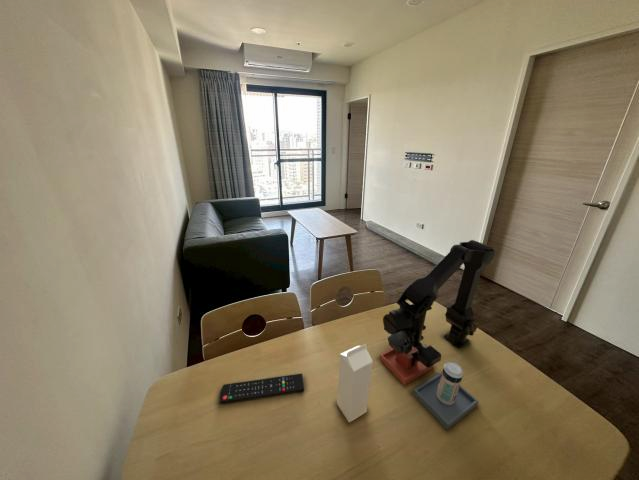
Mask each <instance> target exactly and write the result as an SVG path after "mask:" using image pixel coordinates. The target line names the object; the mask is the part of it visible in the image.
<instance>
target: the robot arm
mask: <svg viewBox="0 0 639 480" xmlns="http://www.w3.org/2000/svg"><path fill="white" fill-rule="evenodd" d="M495 255H496V254H495V249H494V248H493V246H490V245H488V244H485V243H482V242H479V241H477V240H475V239H471V240H469V241H460V242H459V244H453V245H452V246H451V248H450V249H449V252H448V253H447V254H446V255H444V257H443V258H442V259H441V260H440V261H439V262H438V263H437V264H436V265H435V266H434V267H433V268H432V269H431V270H430V271H429V273H428V274H426V275H425V276H424V277H421V278H417V279H415V280H414V281H413V282H412V283H410V284H409V285H407V287H406V288H405V289H404V291H403V292H402V294H401V295H400V297H399V298H398V299H397V301H396V304H397V306H399V308H397V309H393V310H390V311H388V313H386V314H384V315H383V317H382V323H383V330H384V331H385V332H386V333H388V334H389V335H388V336H387V341H388V342H387V343H388V345H389V347H390V348H391V349H392V348H393V349H394V350H395V351H396V352H397V353H404V354H408V353H409V352H410V351H411V350H412V347H413V348H416V349H417V350H416V352H415V353H413V354H411V355H412V356H413V359H412V367H413V366H415V365H416V364H417V362H418V361H420V362H421V363H422V364H423V365H424V366H426V367H431V366H432V365H434V366H435V365H436V364H438V363H439V362H441V360H442V353H441V352H439V350H437V349H436V348H435V347H434V346H432V345H427V344H423V343H422V342H421V341H424V339H425V337H424V336H423V331H425V330H426V329H427V328H426V327H427V326H426V325H425V322H426V316H427V312H428V311H431V310H432V309H433V307H432V306H433V304H434V303H435V302H436V300H437V298H438V295H439V290H440V289H441V287H442V286H443V285H445V283H446V282H447V281H448V280H449V279H450V278H451V277H452V276H453V275H454V274H455V273H457V271H458V270H459V269H460V268H461V266H463V271H462V275H461V279H460V282H459V285H458V290H457V294H456V297H455V302H454V303H453V304H451V305H449V306H448V307H446V312H445V313H444V316H445V321H446V322H447V323H448V324H450V328H449V331H448V333H446V334H445V335H443V338H444V339H445V340H447V341H448V342H449V343H451V344H453V345H454V346H455V347H456V348H458V349H461V348H462V347H464V346H466V345H468V344H470V343H471V341H470V340H469V339H468V338H467V337H468V336H474V333H475V332H476V331H477V329H478V326H477V325H476V324H475V322H474V320H475V313H474V311H473V308H472V305H473V302H474V299H475V295H476V291H477V289H478V284H479V282H480V278H481V275H482V272H483V270H484V269H486V268H487V267H488V266H490V265H491V263H492V261H493V260H494V258H495ZM408 301H409V302H410V303H409V302H408Z"/></svg>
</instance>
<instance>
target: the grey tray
mask: <svg viewBox="0 0 639 480" xmlns="http://www.w3.org/2000/svg"><path fill="white" fill-rule="evenodd" d="M441 375H442V371H441V372H439V373H438V374H436V375H434V376H433V377H431V378H430V379H428V380H427V381H425V382H423V383H422V384H421V385H418V386H417V387H416V388H413V393H412V394H413V396H414V397H415V398H416V399H417V400H418V401H419V402H420V403H421V404H422V405H423V406H424V408H425V409H426V410H427V411H428V412H429V413H430V414H431V415H432V416H433V417H434V418H435V419H436V420H437V421H438V422H439V423H440V424H441V425H442V426H443V428H444V429H446V430H447V431H448V430H449V429H450V428H452V427H453V426H454V425H455V424H457V422H459V421H460V420H461V419H462V418H464V417H465V416H466V415H468V414H469V413H470V412H471V411H473V409H475V408H476V407H477V406H478V404H479V399H477V398H475V396H473V395H472V394H471V393H470V392H469V391H467V389H465V388H464V387H463V386H462V385H460V386H459V390H458V393H457V396H456V399H455V402H454V404H452V405H446V404H444V403H442V402H441V401H440V400H439V399H438V397H437V389H438V386H439V382H440V378H441Z"/></svg>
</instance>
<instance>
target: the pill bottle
mask: <svg viewBox="0 0 639 480" xmlns="http://www.w3.org/2000/svg"><path fill="white" fill-rule="evenodd" d="M441 372H442V375H441V378H440V382H439V386H438V389H437V397H438V399H439V400H440V401H441V402H442V403H444V404H446V405H452V404H454V402H455V399H456V396H457V393H458V390H459V386H461V383H462V380H463V376H464V371H463V368H462V367H461V365H460V364H458V363H456V362H454V361H448V362H446V363H445V364H444V365H443V367H442V371H441Z"/></svg>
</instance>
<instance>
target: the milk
mask: <svg viewBox="0 0 639 480" xmlns="http://www.w3.org/2000/svg"><path fill="white" fill-rule="evenodd" d="M338 363H339V364H338V379H337V393H336V394H337V395H336V405H337V406H338V408H339V409H340V412H341V413H342V414H343V416H344V417H345V419H346V421H347V422H348V423H351V422H353V421H354V420H356V419H358V418H360V417H361V416H363V415H364V414H366V413H367V411H368V404H369V395H370V388H371V380H372V373H373V364H374V361H373V359H372V356H371V355H370V353H369V350H368V349H367V343H365V344H362V345H356V346H354V347H352V348H349V349H347V350H345V351H342V352H341V353H339V362H338Z"/></svg>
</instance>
